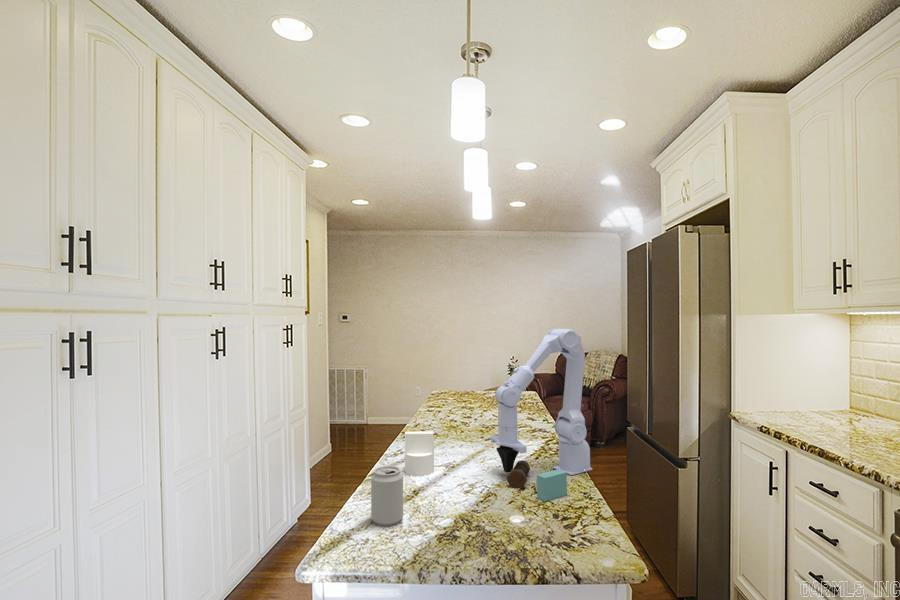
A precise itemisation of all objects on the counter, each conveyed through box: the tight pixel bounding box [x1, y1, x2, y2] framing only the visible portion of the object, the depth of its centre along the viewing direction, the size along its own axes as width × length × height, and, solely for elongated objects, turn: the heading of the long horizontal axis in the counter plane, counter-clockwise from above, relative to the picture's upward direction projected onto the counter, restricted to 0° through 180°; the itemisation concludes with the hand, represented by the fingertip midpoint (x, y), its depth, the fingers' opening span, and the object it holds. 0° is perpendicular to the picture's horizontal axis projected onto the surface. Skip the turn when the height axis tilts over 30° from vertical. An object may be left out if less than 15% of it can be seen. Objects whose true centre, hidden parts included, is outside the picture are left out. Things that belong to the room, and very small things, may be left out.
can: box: [370, 465, 404, 527], centre depth 111 cm, size 8×8×12 cm
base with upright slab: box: [404, 430, 435, 477], centre depth 145 cm, size 9×9×12 cm
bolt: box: [506, 459, 531, 490], centre depth 138 cm, size 6×5×15 cm
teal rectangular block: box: [535, 469, 568, 502], centre depth 126 cm, size 8×6×6 cm
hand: (508, 471), depth 140 cm, fingers closed
